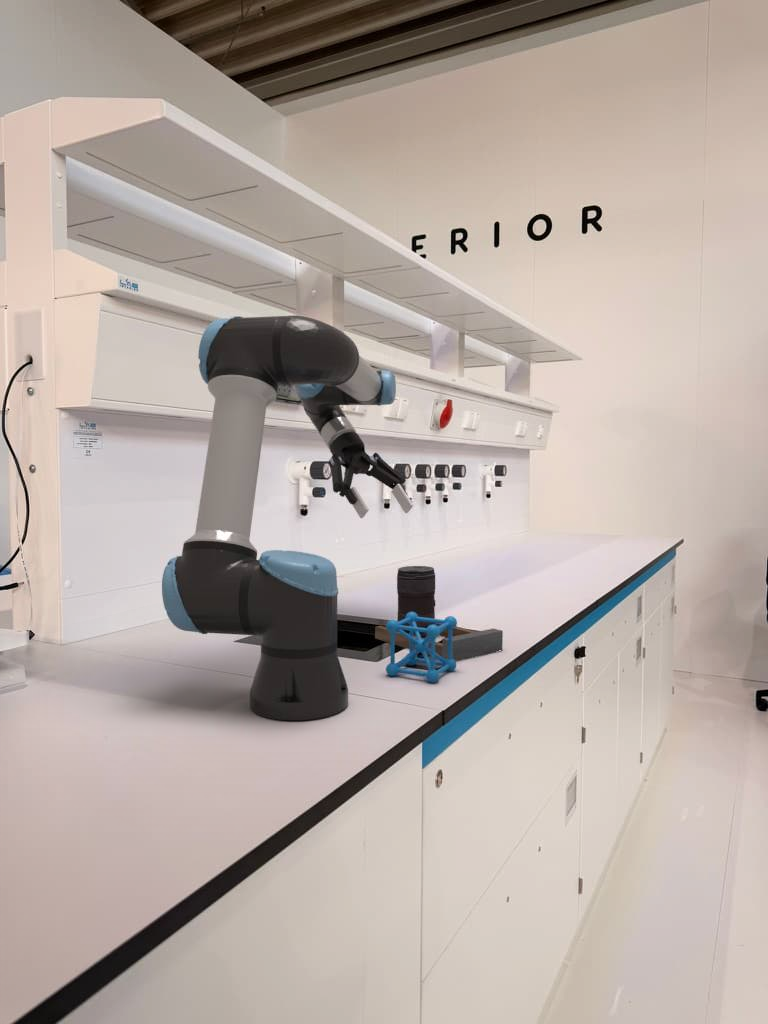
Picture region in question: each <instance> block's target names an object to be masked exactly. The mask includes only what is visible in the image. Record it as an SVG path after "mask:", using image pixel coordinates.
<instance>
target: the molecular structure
mask: <svg viewBox="0 0 768 1024" xmlns="http://www.w3.org/2000/svg"><path fill="white" fill-rule="evenodd" d="M417 621H423V622H432V623H440V624H442V625H440V626H437V625H434V624H433V625H429V626H428V627H427V628H419V627H417V625H416V622H417ZM404 623H408V624H410V626H403V625H402V624H404ZM457 625H458V620H457V618H456V617H454V616H453V615H451V616H450V615H449V616H447V617H445V619H441V618H439V619H438V618H435V619H432V618H424V617H418V616H417V614H416V613H415V612H409V613H407V615H406V619H403V620H401V621H399V622H398V620H395V619H390V620H388V621H387V623H386V626H385V627H386V628H387V630H388V631H389V632H390V633H391V643H390V661H389V662H390V663H388V664H387V665H386V667H385V672H386V674H387V675H388V676H390V677H394V676H395V677H396V676H397V675H398V674H399V673H400V674H404V675H411V676H418V677H424V678H425V679H426V680H427V681H428V682H429V683H433V684H434V683H436V682H438V680H439V679H440V674H441V673H443V672H445V671H447V672H453V671H455V670H456V668H457V661H455V660H454V659H452V629H454V628H455V627H456V626H457ZM447 628H448V659H444V658H443V657H441V656H440V655H438V654H437V653H435V642H436V638H438V637H440V636H439V634H440V633H442V632H443V631H444V630H445V629H447ZM403 630H409V631H410V635H409V634H407V633H406V632H404V631H403ZM396 632H398V633H400V634H401V635H403V636H404V637H406V638H407V639H409V640H410V649H408V650H409V651H408V652H409V653H407V654H406V655H405V656H404V657H402V659H401V660H399V661H398V662H397V663H396V659H395V658H396V657H395V656H396V653H395V652H396V651H395V649H396V647H395V646H396V645H395V633H396ZM414 632H415V634H416V637H417V640H416V639H415V638H414ZM419 632H425V633H427V636H426V638H425V639H421V636H420V634H419ZM430 641H431V649H429V648H428V643H429V642H430ZM414 643H415V649H414V650H413V644H414ZM426 651H427V652H428V653H429V654H431V656H430V659H429V655H427V653H426ZM420 652H422V653H421V654H422V656H423V658H420V657H418V655H419V653H420ZM436 659H437V660H436ZM417 663H420V664H421V663H422V664H425V665H426V667H427V671H426V672H424V671H418V670H412V669H411V670H410V669H405V668H402V667H404V666H405V665H408V666H410V667H411V666H415V665H416V664H417ZM436 665H437V666H441V667H440V668H439V669H436Z"/></svg>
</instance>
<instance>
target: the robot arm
mask: <svg viewBox="0 0 768 1024" xmlns="http://www.w3.org/2000/svg"><path fill="white" fill-rule="evenodd" d="M199 341H200V342H199V345H198V355H197V357H198V360H199V364H198V369H199V372H200V376H201V379H202V380H203V381H204V382H205V384H206V385H207V389H208V392H210V394H211V396H213V398H214V403H213V411H212V419H211V424H210V425H211V426H210V431H209V438H208V444H207V452H206V459H205V465H204V472H203V477H202V486H201V492H200V497H199V505H198V511H197V512H198V513H197V519H196V525H195V532H194V534H193V535H191V536H190V537H189V538H188V539H186V540H185V541H184V542H183V545H182V552H181V555H177V556H175V557H172V558H170V559H169V561H168V562H167V564H166V566H165V567H164V569H163V573H162V579H161V595H162V596H161V597H162V602H163V607H164V610H165V611H166V615H167V617H168V619H169V621H170V622H171V623H172V625H173V626H175V627H176V628H177V629H179V630H181V631H184V632H194V633H199V634H202V635H207V634H220V635H221V634H223V635H225V634H226V635H228V634H229V635H237V636H238V635H242V636H258V637H260V657H259V662H258V665H257V668H256V670H255V673H254V676H253V681H252V683H251V687H250V690H249V709H250V710H251V711H252V712H253V713H255V714H257V715H259V716H262V717H265V718H268V719H273V720H281V721H306V720H316V719H322V718H326V717H331V716H334V715H336V714H338V713H341V712H342V711H344V710H345V709H347V707H348V705H349V687H348V684H347V680H346V678H345V675H344V672H343V669H342V665H341V662H340V659H339V657H338V595H339V587H338V580H337V575H338V574H337V569H336V566H335V564H334V563H333V562H332V561H331V560H330V559H328V558H326V557H323V556H321V555H317V554H314V553H309V552H304V551H295V550H283V549H282V550H278V549H272V550H265V551H263V552H262V553H261V554H260V557H259V559H257V558H258V550H257V548H256V547H255V546H254V545H253V544H252V543H251V541H250V537H251V530H252V523H253V514H254V507H255V499H256V490H257V485H258V476H259V467H260V459H261V452H262V444H263V443H262V442H263V437H264V436H263V435H264V429H265V422H266V421H265V420H266V413H267V407H268V406H270V405H271V404H273V403H274V402H275V401H276V400H277V397H278V391H279V390H278V389H279V386H280V387H281V386H294V387H295V391H296V394H297V395H298V397H299V398H300V401H301V402H300V403H301V405H302V407H303V409H304V412H305V414H306V415H307V417H308V418H309V420H310V421H311V423H312V424H313V426H314V427H315V429H316V430H317V431H318V433H319V435H320V438H322V441H323V442H324V443H325V445H326V447H327V448H328V449H329V452H330V453H331V456H330V458H329V460H328V461H327V462H328V464H329V467H330V471H331V479H332V480H331V481H332V482H331V483H332V490H333V492H334V493H336V494H337V493H339V494H338V495H339V496H340V497H341V498H342V497H343V498H344V497H345V498H346V500H347V502H348V503H349V504H350V505H352V507H353V508H354V510H355V513H357V516H359V518H360V519H363V518H364V517H365V516H366V515H367V513H368V511H370V509H369V507H368V506H367V505H366V503H365V501H364V499H363V498H362V496H361V494H360V493H359V491H358V490H357V488H356V486H352V483H353V478H354V475H366V476H368V477H373V478H374V479H375V480H377V481H379V482H380V483H381V484H384V485H385V486H387V487H388V488H389V489H391V493H392V495H393V497H394V499H396V501H397V503H398V504H399V506H400V507H401V510H403V512H404V513H405V514H408V513H409V512H410V511H411V510H412V509H413V507H414V506H415V505H414V503H413V502H412V500H411V499H410V497H409V495H408V492H406V490H405V489H404V487H403V485H404V484H405V482H406V481H407V479H406V478H405V477H404V476H402V475H401V474H400V473H399V472H398V471H396V470H395V469H394V468H393V467H392V466H390V465H389V464H388V462H387V461H385V460H383V458H382V457H381V456H380V455H379V453H378V452H374V453H373V455H369V454H368V453H367V452H366V450H365V447H366V446H365V443H364V441H363V440H362V438H361V437H360V435H359V434H358V433H357V431H356V429H355V427H354V425H353V424H352V423H351V422H350V420H349V418H348V417H347V416H346V415H345V413H344V411H343V410H342V407H341V406H377V407H379V406H384V405H385V406H386V405H392V404H393V403H394V401H395V400H396V394H397V393H396V392H397V386H396V385H397V384H396V383H397V382H396V376H395V374H394V373H393V371H392V370H382V369H380V370H375V369H374V368H373V366H371V365H370V364H369V363H368V362H367V361H366V360H365V359H364V358H363V357H362V356H361V355H360V352H359V349H358V346H357V345H356V343H355V342H354V341H353V339H352V338H350V336H349V335H347V334H346V333H344V332H343V331H342V330H340V329H338V328H336V327H335V326H333V325H331V324H329V323H326V322H324V321H322V320H319V319H315V318H313V317H309V316H305V315H304V316H303V315H278V316H277V315H276V316H274V315H271V316H251V317H246V316H245V317H243V316H239V315H237V316H231V317H227V318H226V317H224V318H218V319H215V320H214V321H212V322H211V323H209V324H208V326H207V327H206V328H205V330H204V332H202V335H201V339H200V340H199ZM371 466H372V467H371ZM342 467H343V468H345V469H344V473H343V471H342ZM343 475H344V477H343Z"/></svg>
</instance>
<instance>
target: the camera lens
mask: <svg viewBox="0 0 768 1024" xmlns="http://www.w3.org/2000/svg"><path fill="white" fill-rule="evenodd" d="M396 589H397V590H396V591H397V592H396V593H397V622H399V621H401V620H403V619H406V615H407V613H409V612H415V613H416V614H417V616H418V617H424V618H432V619H436V613H435V611H436V610H435V607H436V599H435V594H436V573H435V568H434V567H432V566H426V565H410V566H409V565H408V566H407V565H406V566H402V567H398V569H397V575H396ZM433 624H435V623H432V622H423V621H417V622H416V625H417V627H419V628H427V627H428V626H429V625H433ZM402 625H403V626H410V624H408V623H404V624H402ZM403 631H404V632H406V633H407V634H410V631H409V630H403ZM419 634H420V636H421V638H426V636H427V633H425V632H419ZM414 636H416V634H415V632H414Z"/></svg>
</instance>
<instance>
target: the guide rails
mask: <svg viewBox="0 0 768 1024" xmlns="http://www.w3.org/2000/svg"><path fill="white" fill-rule="evenodd" d="M434 625H437V626H440V625H442V624H440V623H435V624H434ZM374 629H375V630H374V633H375V634H374V639H376V640H379V641H382V642H386V643H389V644H391V633H390V632H389V631H388V630H387V628H386V626H383V625H378V626H376V625H375V628H374ZM473 632H477V631H476V630H472V629H469V628H464V627H460V626H457V625H456V627H455V628H454V629H452V637H453V636H458V635H463V634H468V633H473ZM409 635H410V634H409ZM438 637H443V638H448V628H447V629H445V630H444V631H443V632H442V633H440V634H439V636H438ZM414 638H415V639H416V640H417V637H416V636H414ZM421 639H425V638H421ZM395 646H398V647H401V648H404V649H408V650H409V649H410V640H409V639H407V638H406V637H404V636H403V635H401V634H400V633H398V632H396V633H395ZM428 648H429V649H431V641H430V642H429V643H428ZM414 649H415V643H414V644H413V650H414ZM419 653H420V654H422V652H419ZM426 653H427V656H428V657H431V654H429V653H428V652H427V651H426ZM435 653H437V654H438V655H440V656H441V657H442V642H438V641H435Z"/></svg>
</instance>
